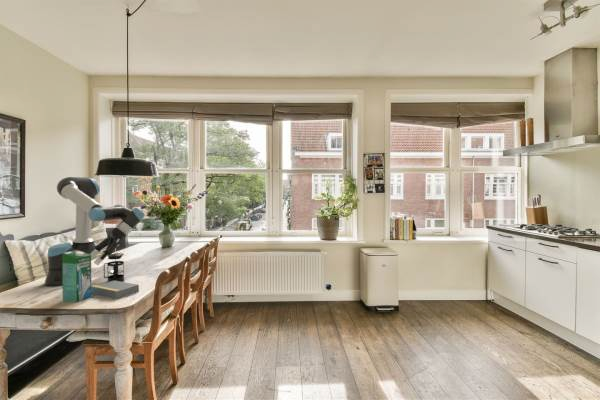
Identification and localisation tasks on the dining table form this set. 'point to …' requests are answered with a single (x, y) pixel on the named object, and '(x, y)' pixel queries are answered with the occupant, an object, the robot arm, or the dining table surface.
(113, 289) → the plate
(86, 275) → the milk carton
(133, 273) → the dining table surface
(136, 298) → the dining table surface
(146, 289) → the dining table surface
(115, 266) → the french press
